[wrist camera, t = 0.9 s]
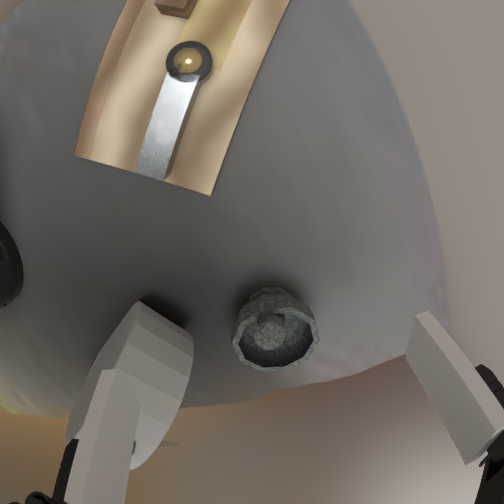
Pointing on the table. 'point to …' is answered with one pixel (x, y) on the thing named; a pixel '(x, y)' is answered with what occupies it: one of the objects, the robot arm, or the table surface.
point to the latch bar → (174, 107)
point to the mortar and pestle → (274, 331)
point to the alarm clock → (142, 375)
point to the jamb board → (154, 72)
